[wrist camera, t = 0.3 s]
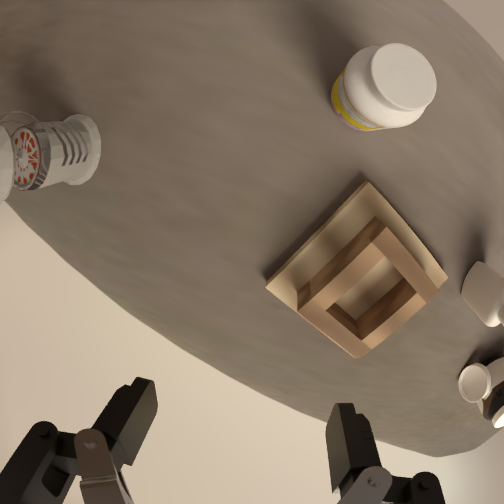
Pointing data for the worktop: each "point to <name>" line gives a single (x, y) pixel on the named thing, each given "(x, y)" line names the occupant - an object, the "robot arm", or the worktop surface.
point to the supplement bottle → (383, 87)
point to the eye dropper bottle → (485, 293)
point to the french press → (48, 153)
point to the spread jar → (485, 388)
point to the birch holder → (359, 274)
